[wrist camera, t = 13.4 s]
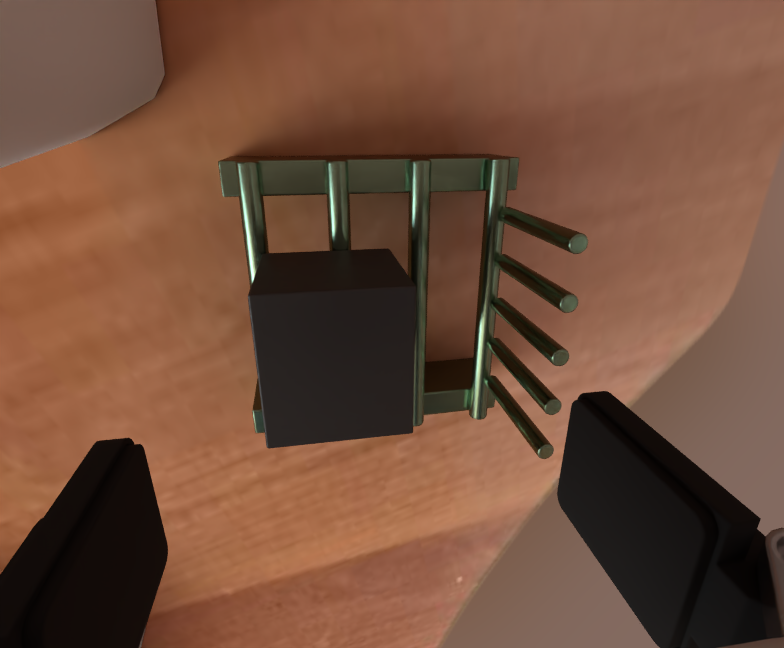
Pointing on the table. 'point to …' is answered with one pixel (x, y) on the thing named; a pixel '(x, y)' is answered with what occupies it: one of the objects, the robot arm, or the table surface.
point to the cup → (72, 69)
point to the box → (333, 345)
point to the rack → (426, 263)
